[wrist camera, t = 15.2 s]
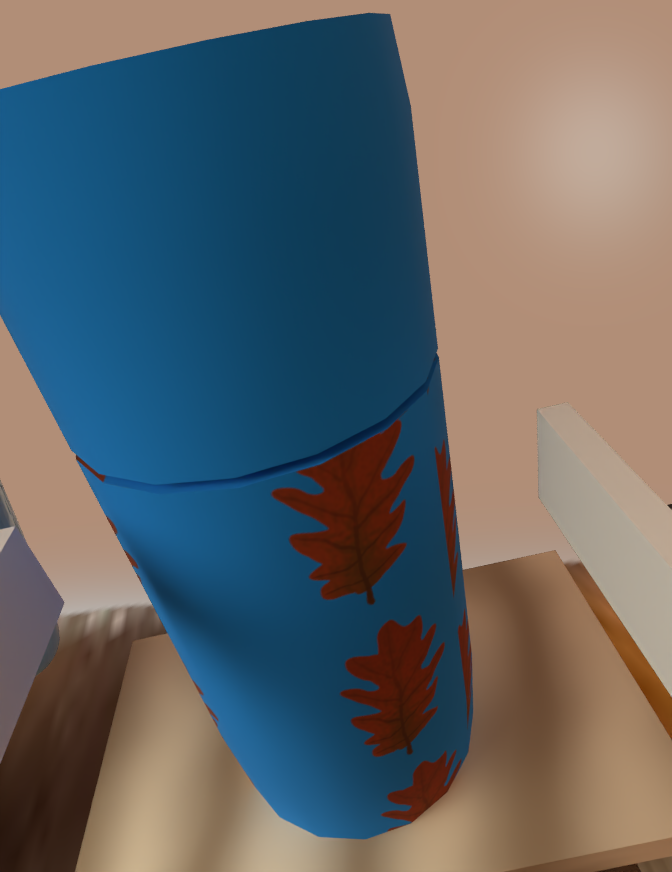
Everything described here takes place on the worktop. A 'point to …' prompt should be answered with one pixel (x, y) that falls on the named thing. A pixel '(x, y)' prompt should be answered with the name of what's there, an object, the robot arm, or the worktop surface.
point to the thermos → (258, 392)
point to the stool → (469, 792)
